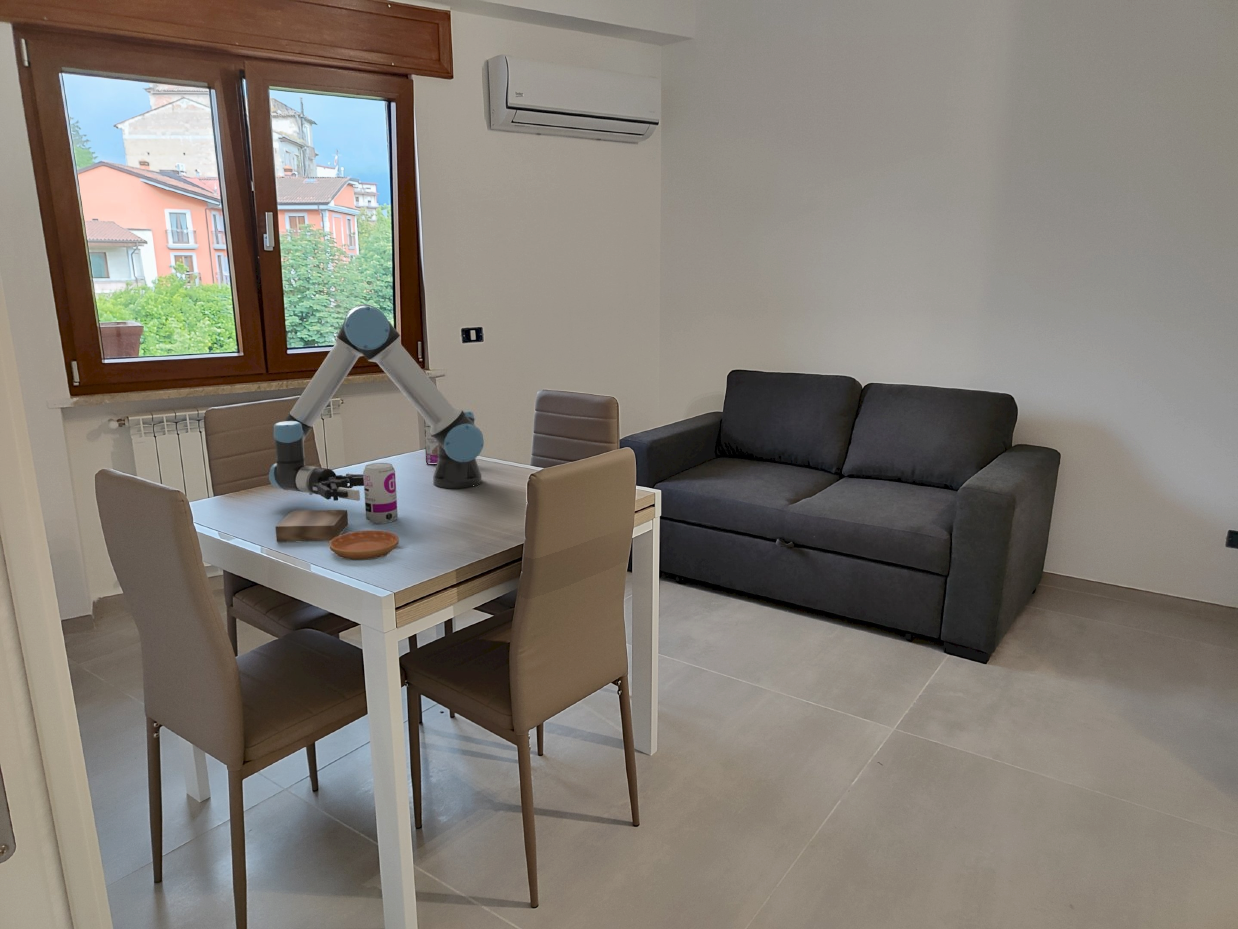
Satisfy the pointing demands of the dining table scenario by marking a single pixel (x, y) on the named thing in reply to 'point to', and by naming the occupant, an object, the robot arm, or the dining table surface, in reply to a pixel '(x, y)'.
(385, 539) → the saucer
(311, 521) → the podium
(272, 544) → the dining table surface
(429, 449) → the candy bar box
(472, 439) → the robot arm
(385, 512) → the supplement can
